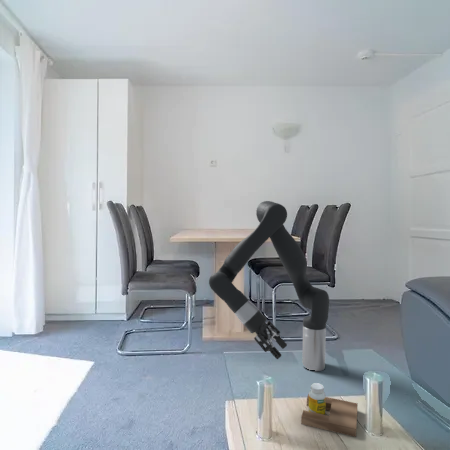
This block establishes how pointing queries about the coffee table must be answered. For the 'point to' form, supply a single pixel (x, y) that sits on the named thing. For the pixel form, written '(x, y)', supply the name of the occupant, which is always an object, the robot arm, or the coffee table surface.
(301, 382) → the coffee table surface
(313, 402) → the supplement bottle
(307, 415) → the notched board
